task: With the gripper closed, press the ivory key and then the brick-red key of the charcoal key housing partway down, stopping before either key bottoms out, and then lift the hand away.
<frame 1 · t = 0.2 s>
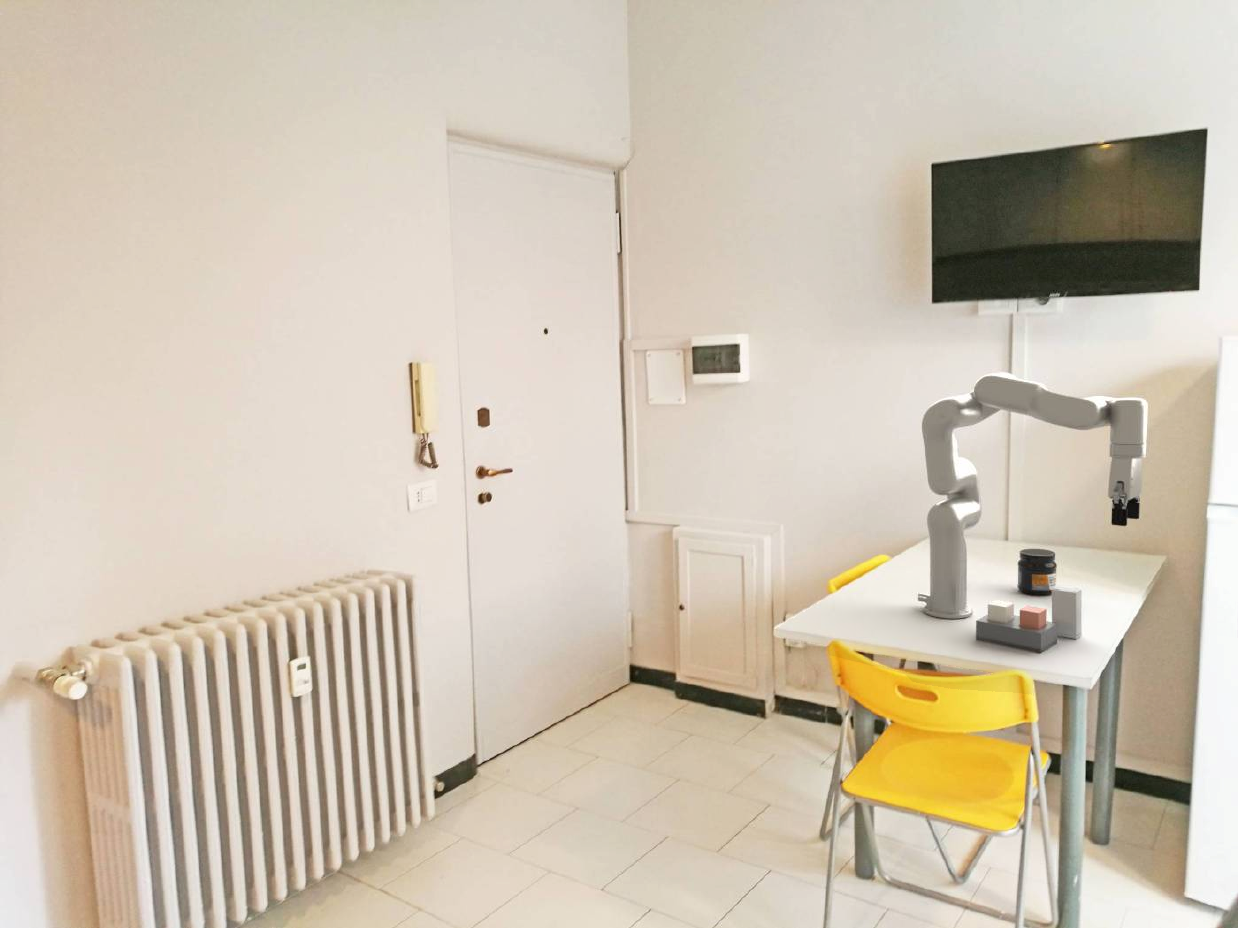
hand: (1125, 521, 218), 31 cm above the table, tool pointing down, fingers open, 9 cm apart
ivory key: (1000, 612, 231), point 7 cm above the table, slide at 0.0 cm
supplement container: (1036, 592, 271), on the table
brick key: (1032, 618, 225), point 7 cm above the table, slide at 0.0 cm
skincare box: (1066, 636, 232), on the table
key housing: (1016, 641, 229), on the table
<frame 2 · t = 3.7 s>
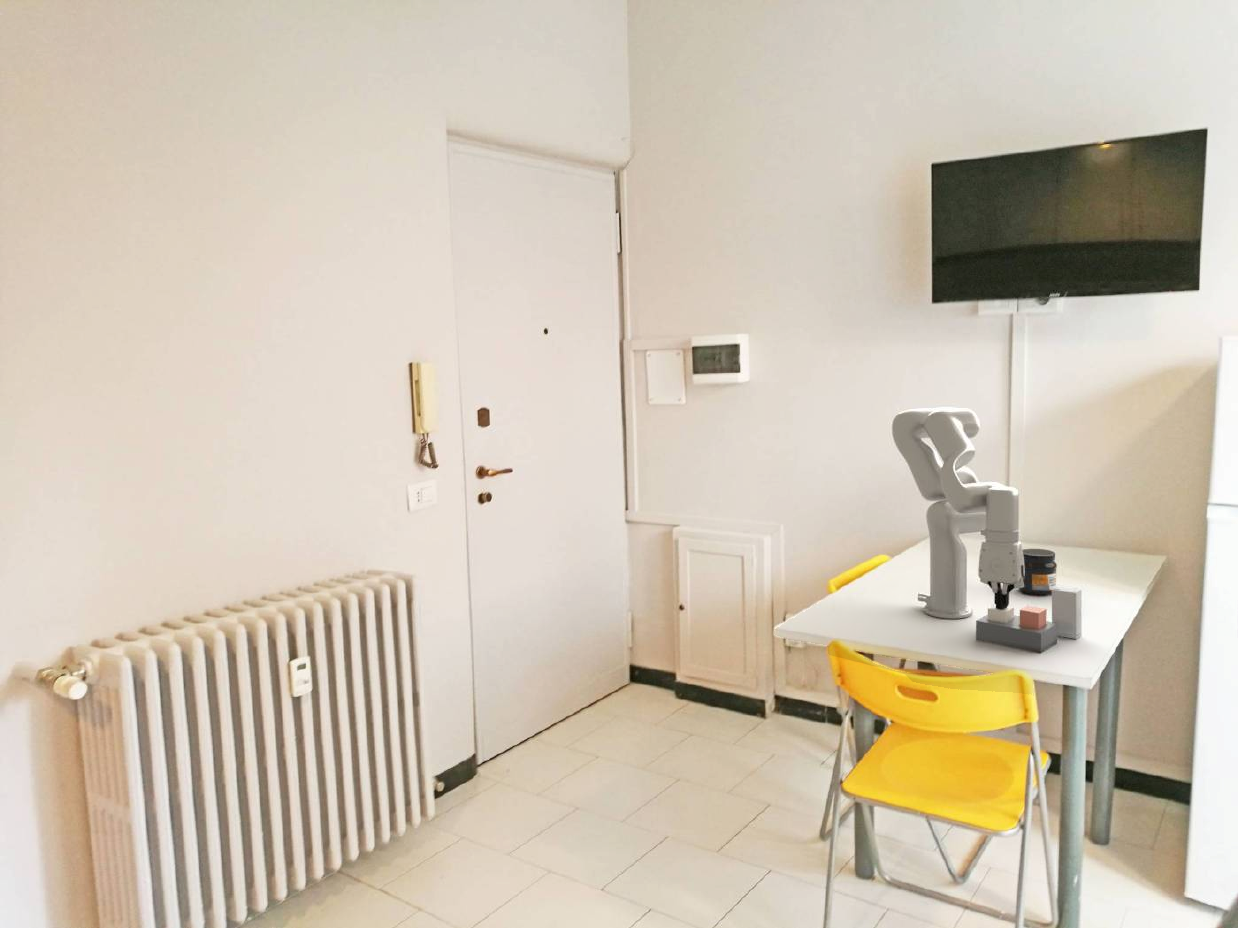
hand: (1001, 607, 231), 8 cm above the table, tool pointing down, fingers closed
ivory key: (1000, 616, 231), point 6 cm above the table, slide at 1.1 cm, touching gripper
everything else where it was.
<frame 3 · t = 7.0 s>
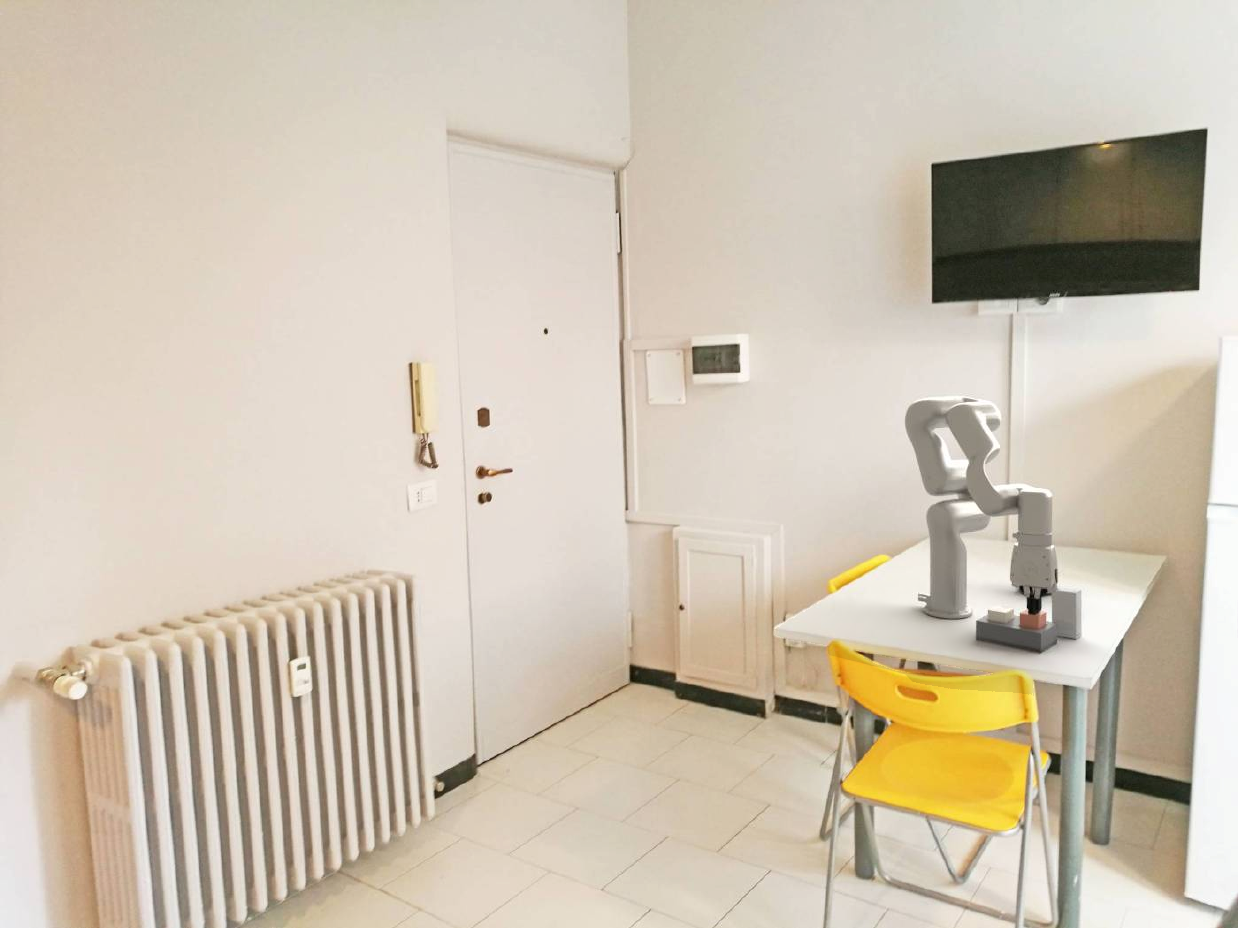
hand: (1034, 612, 225), 8 cm above the table, tool pointing down, fingers closed
ivory key: (1000, 617, 231), point 5 cm above the table, slide at 1.5 cm
brick key: (1032, 621, 225), point 6 cm above the table, slide at 0.8 cm, touching gripper
everything else where it was.
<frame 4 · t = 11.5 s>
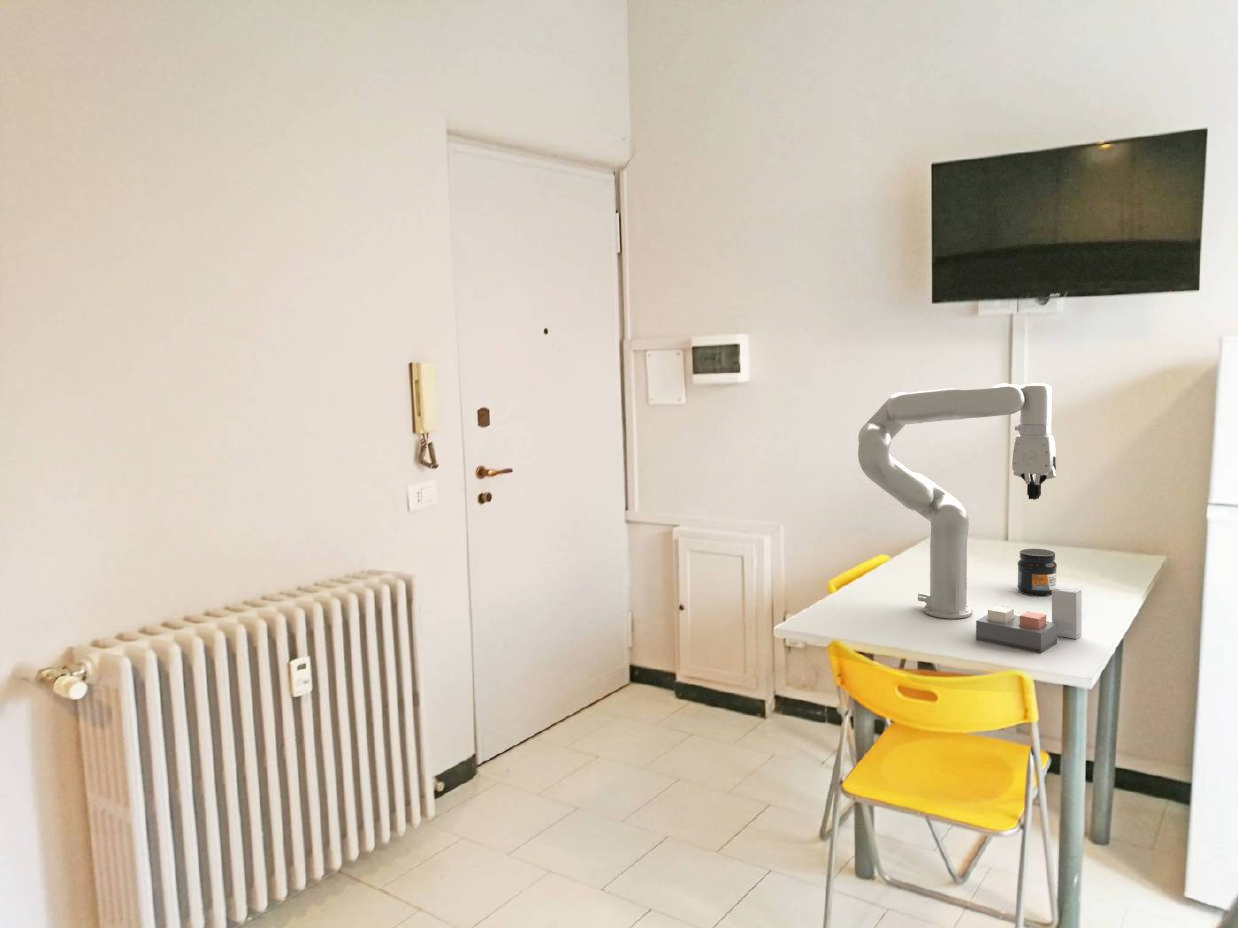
hand: (1033, 498, 246), 32 cm above the table, tool pointing down, fingers closed
brick key: (1032, 623, 226), point 5 cm above the table, slide at 1.5 cm
everything else where it was.
at the end: ivory key slide at 1.5 cm; brick key slide at 1.5 cm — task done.
